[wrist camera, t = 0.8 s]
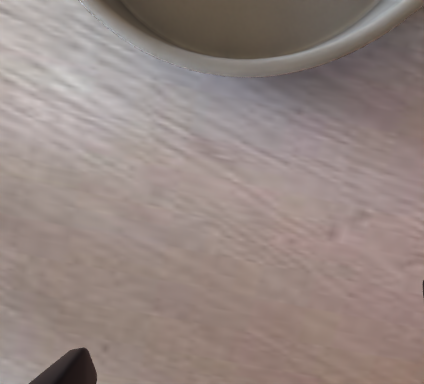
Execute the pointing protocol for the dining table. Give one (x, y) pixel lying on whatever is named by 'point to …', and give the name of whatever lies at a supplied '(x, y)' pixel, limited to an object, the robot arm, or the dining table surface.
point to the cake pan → (250, 31)
